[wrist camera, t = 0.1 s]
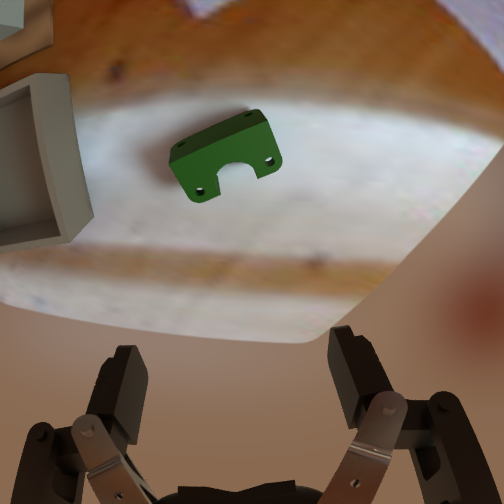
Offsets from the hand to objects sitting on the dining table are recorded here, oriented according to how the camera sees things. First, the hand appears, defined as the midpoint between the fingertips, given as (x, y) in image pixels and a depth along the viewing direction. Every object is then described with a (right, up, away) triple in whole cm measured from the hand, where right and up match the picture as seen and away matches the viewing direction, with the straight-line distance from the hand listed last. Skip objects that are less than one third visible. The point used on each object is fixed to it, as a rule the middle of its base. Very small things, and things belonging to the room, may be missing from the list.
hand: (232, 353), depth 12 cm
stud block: (-32, +36, +12) cm, 50 cm away
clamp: (-2, +16, +25) cm, 30 cm away
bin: (-30, +17, +22) cm, 41 cm away
